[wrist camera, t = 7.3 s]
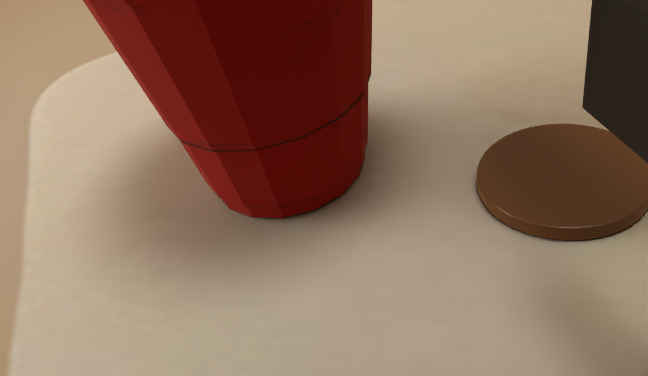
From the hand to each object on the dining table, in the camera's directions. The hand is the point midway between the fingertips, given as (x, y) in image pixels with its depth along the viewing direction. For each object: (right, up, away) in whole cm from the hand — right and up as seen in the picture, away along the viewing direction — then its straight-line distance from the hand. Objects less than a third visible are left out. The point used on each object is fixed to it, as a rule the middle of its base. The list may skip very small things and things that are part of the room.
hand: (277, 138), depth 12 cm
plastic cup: (0, -1, +11) cm, 11 cm away
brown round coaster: (+8, -1, +7) cm, 11 cm away
